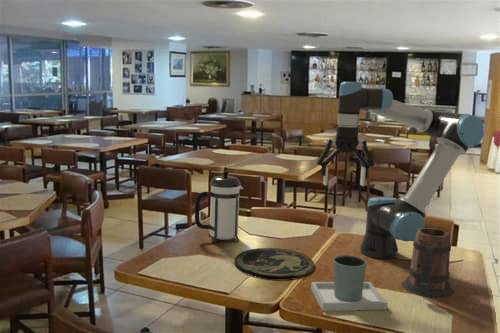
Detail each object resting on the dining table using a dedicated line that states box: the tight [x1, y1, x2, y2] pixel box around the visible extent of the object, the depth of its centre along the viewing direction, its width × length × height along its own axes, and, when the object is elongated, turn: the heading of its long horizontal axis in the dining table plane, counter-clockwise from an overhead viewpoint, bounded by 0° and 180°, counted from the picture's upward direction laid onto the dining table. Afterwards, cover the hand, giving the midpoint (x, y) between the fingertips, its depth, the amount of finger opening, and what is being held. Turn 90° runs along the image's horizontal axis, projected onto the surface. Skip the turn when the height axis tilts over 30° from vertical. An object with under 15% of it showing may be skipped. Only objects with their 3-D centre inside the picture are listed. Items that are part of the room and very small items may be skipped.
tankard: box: [401, 227, 455, 299], centre depth 165 cm, size 24×17×20 cm
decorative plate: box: [234, 247, 315, 280], centre depth 187 cm, size 30×2×30 cm
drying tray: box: [310, 281, 389, 312], centre depth 158 cm, size 20×16×2 cm
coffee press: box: [194, 169, 244, 244], centre depth 211 cm, size 17×16×30 cm
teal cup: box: [333, 254, 367, 302], centre depth 157 cm, size 10×10×12 cm
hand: (343, 185), depth 179 cm, fingers open, 13 cm apart
